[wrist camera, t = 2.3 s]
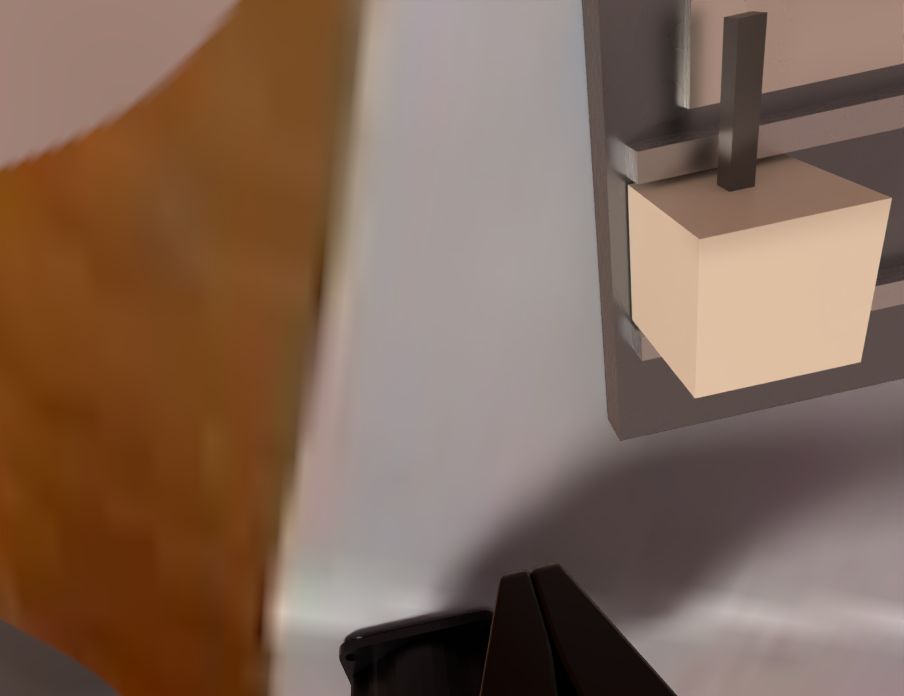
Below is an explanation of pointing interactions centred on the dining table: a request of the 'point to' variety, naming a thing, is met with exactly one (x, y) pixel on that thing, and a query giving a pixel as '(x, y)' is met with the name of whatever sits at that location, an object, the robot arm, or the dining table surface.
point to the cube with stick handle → (753, 250)
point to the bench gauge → (780, 132)
